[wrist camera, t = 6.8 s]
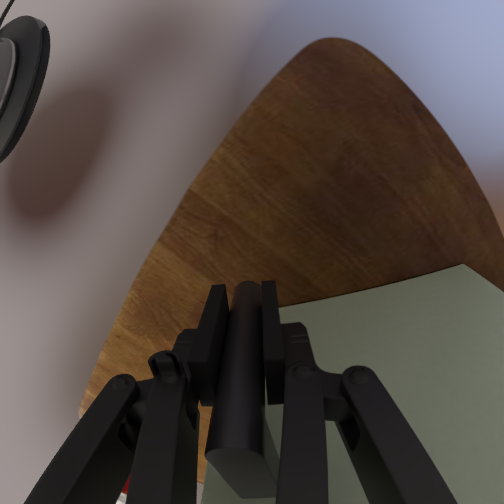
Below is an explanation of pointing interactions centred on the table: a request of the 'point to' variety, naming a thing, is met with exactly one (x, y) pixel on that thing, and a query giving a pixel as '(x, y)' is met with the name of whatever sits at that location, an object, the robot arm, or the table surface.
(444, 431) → the cupboard door
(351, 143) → the table surface
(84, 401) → the table surface
